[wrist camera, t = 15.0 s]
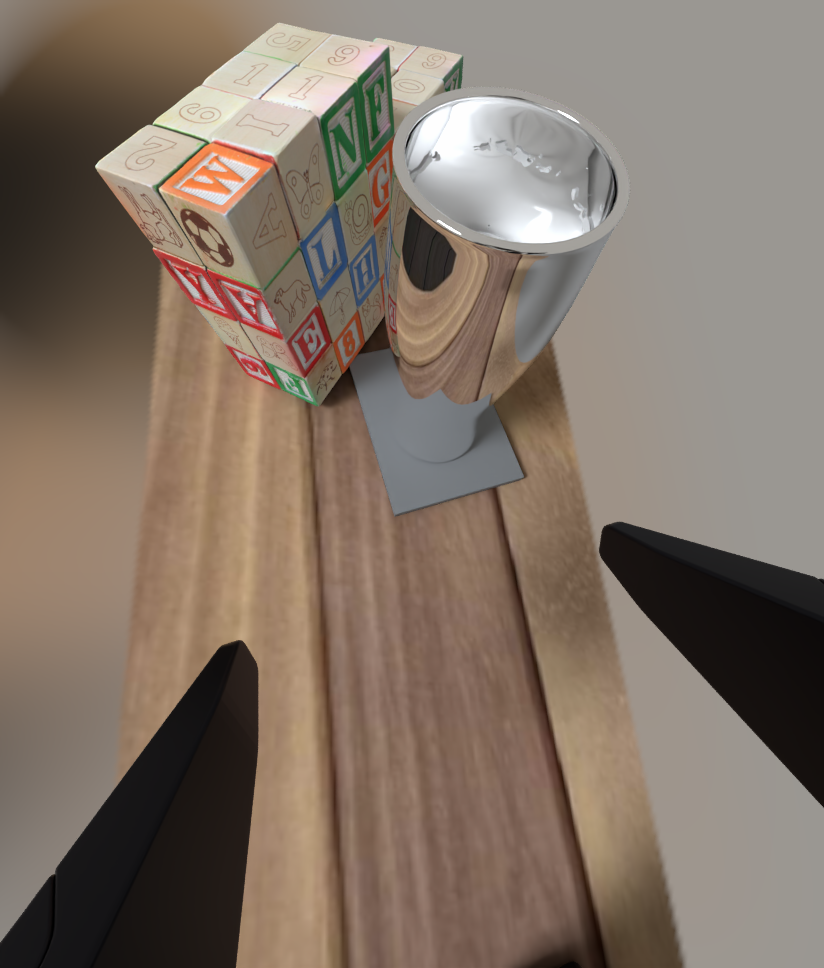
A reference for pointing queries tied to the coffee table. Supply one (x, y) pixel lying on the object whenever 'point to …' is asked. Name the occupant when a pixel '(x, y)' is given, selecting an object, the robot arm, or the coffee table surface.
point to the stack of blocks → (282, 195)
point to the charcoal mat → (421, 480)
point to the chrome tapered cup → (486, 250)
